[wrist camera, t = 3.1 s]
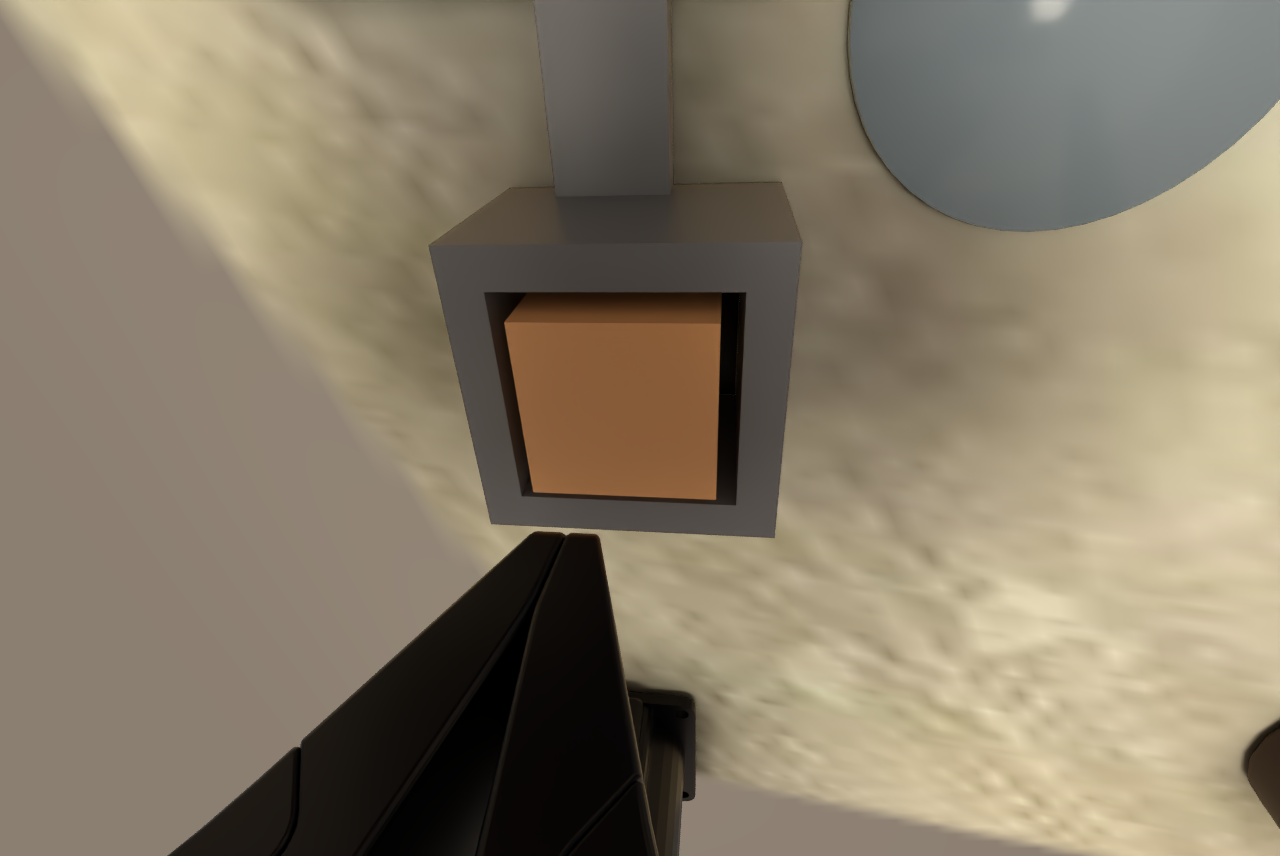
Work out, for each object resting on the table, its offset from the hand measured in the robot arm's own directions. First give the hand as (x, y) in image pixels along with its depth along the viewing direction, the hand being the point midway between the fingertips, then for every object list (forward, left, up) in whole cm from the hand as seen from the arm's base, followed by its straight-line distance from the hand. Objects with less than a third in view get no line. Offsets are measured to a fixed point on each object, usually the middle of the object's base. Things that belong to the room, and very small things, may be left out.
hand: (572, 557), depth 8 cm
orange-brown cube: (0, 0, -8) cm, 8 cm away
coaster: (+6, -8, -9) cm, 13 cm away
